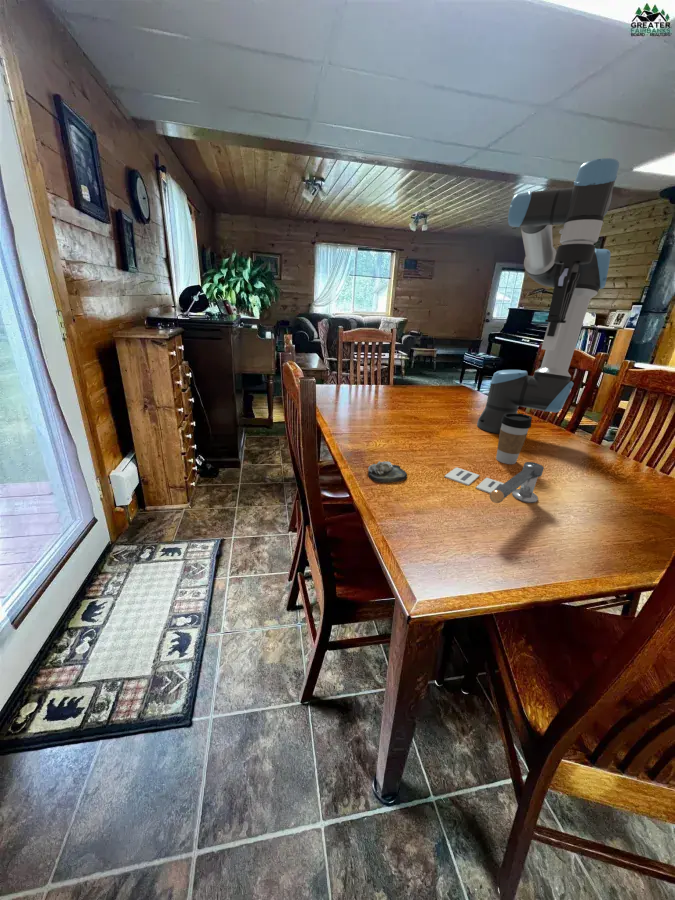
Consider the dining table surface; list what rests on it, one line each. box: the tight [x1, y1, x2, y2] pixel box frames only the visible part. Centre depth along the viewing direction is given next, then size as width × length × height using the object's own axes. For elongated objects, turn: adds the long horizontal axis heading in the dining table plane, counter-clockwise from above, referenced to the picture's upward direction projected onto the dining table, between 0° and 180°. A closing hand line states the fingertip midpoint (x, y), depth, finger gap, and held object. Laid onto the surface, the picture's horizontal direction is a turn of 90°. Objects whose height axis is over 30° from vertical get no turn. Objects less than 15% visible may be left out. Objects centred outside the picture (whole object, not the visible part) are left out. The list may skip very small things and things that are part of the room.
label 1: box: [444, 467, 480, 486], centre depth 100 cm, size 8×7×1 cm
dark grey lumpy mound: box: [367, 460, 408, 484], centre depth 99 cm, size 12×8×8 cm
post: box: [511, 476, 539, 504], centre depth 90 cm, size 6×6×7 cm
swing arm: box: [489, 461, 545, 504], centre depth 82 cm, size 25×4×3 cm, turn 133°
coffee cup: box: [495, 413, 533, 465], centre depth 110 cm, size 8×8×15 cm
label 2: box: [475, 476, 505, 494], centre depth 95 cm, size 8×7×1 cm
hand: (547, 349), depth 91 cm, fingers closed
